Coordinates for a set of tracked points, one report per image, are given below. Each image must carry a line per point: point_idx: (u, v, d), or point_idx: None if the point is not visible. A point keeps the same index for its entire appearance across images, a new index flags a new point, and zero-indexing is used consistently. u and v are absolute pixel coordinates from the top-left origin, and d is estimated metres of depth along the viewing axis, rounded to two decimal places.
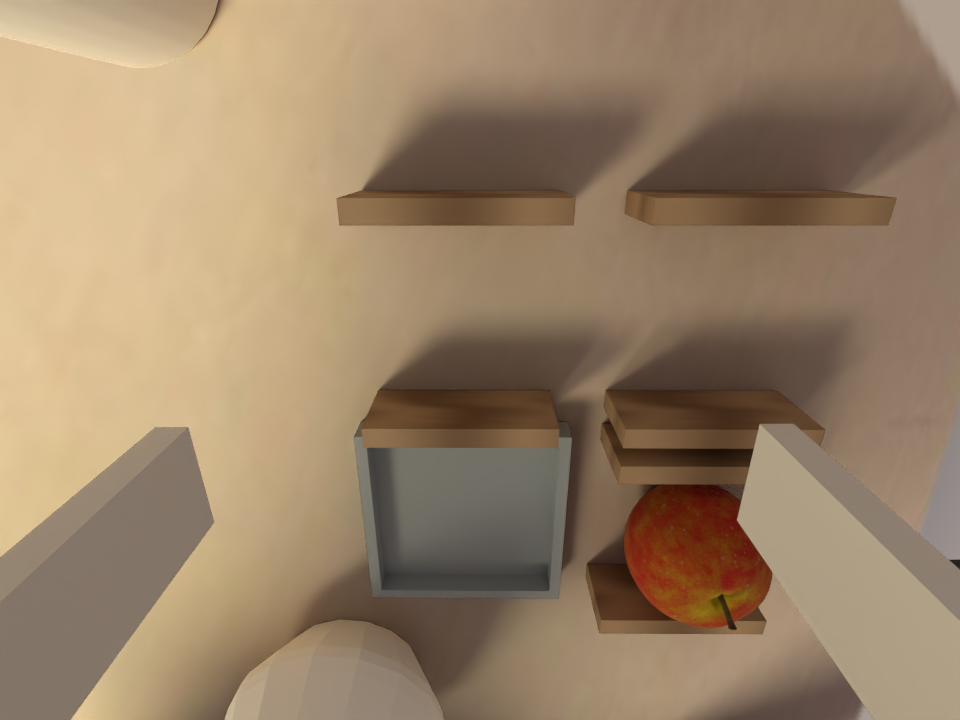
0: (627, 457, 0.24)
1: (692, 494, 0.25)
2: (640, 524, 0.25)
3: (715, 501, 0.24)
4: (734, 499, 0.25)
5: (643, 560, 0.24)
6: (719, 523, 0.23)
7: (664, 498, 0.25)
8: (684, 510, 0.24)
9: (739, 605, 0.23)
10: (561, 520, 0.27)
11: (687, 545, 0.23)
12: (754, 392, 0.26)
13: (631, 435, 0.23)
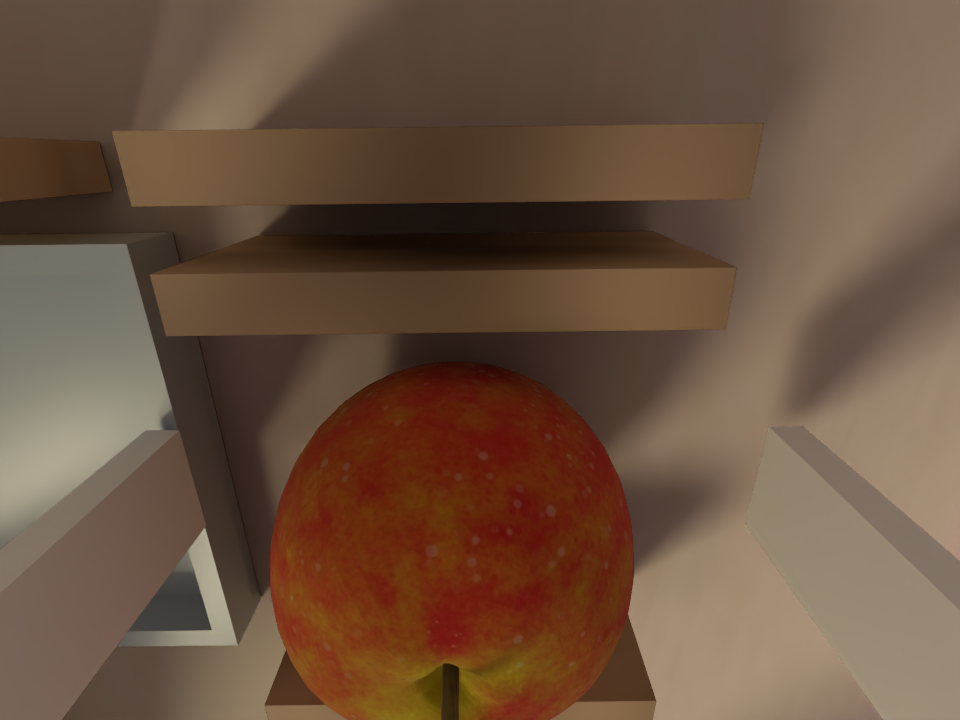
0: (207, 264, 0.08)
1: (418, 378, 0.09)
2: (294, 465, 0.09)
3: (467, 390, 0.08)
4: (537, 392, 0.09)
5: (270, 561, 0.09)
6: (449, 442, 0.07)
7: (357, 395, 0.09)
8: (372, 414, 0.08)
9: (505, 701, 0.07)
10: None
11: (338, 512, 0.07)
12: None
13: (140, 154, 0.07)
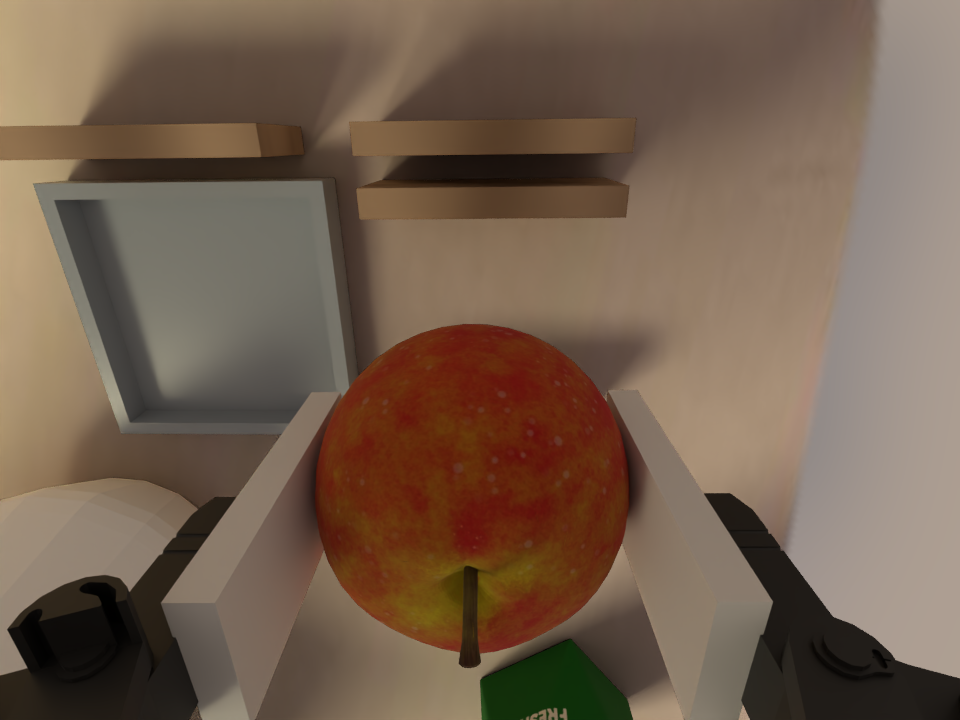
0: (376, 186, 0.17)
1: (445, 334, 0.10)
2: (335, 409, 0.11)
3: (488, 343, 0.10)
4: (548, 349, 0.10)
5: (315, 487, 0.10)
6: (473, 383, 0.09)
7: (390, 350, 0.11)
8: (406, 361, 0.10)
9: (515, 598, 0.09)
10: (334, 315, 0.21)
11: (379, 438, 0.09)
12: None
13: (360, 132, 0.16)
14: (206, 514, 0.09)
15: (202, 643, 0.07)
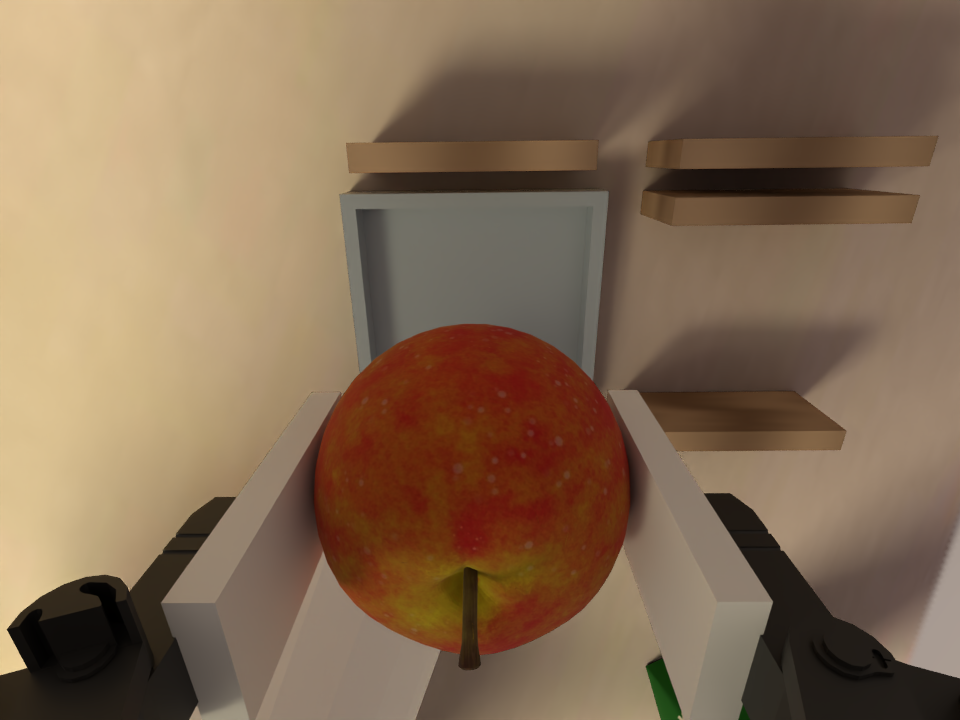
0: (681, 196, 0.19)
1: (444, 334, 0.10)
2: (334, 409, 0.11)
3: (488, 343, 0.10)
4: (548, 349, 0.10)
5: (314, 487, 0.10)
6: (473, 383, 0.09)
7: (390, 349, 0.11)
8: (406, 361, 0.10)
9: (516, 600, 0.09)
10: (593, 314, 0.23)
11: (379, 437, 0.09)
12: None
13: (691, 148, 0.18)
14: (207, 515, 0.09)
15: (203, 644, 0.07)
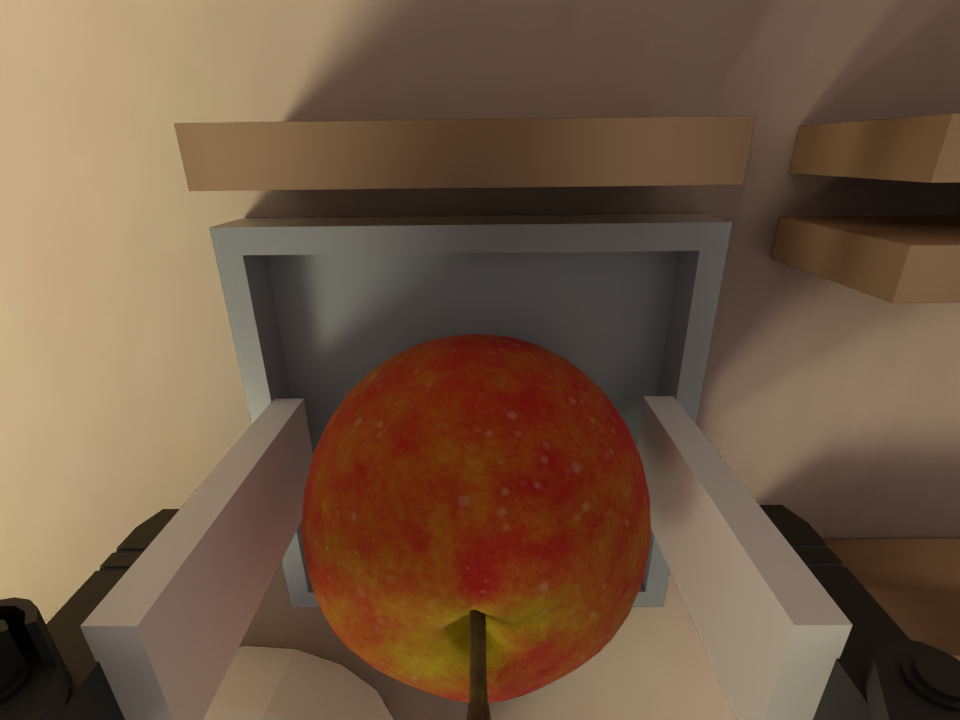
0: (905, 238, 0.09)
1: (446, 346, 0.09)
2: None
3: (494, 356, 0.09)
4: (560, 362, 0.10)
5: (302, 517, 0.09)
6: (479, 402, 0.08)
7: (386, 363, 0.10)
8: (403, 377, 0.09)
9: (529, 647, 0.08)
10: None
11: (374, 465, 0.08)
12: None
13: None
14: (150, 528, 0.09)
15: (126, 668, 0.07)
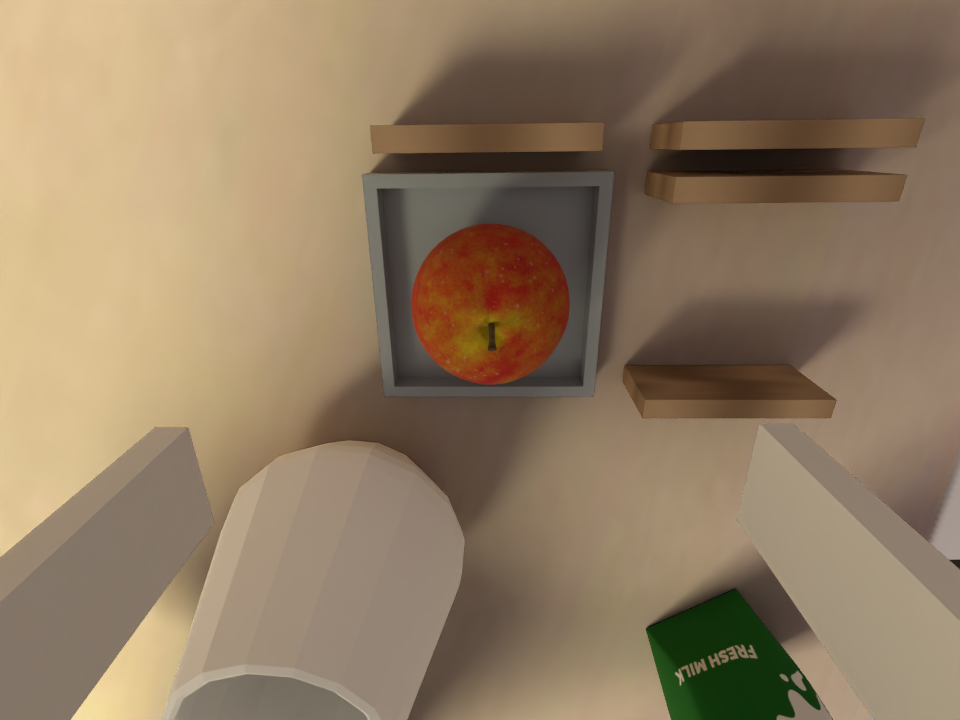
0: (682, 175, 0.20)
1: (477, 225, 0.21)
2: None
3: (499, 227, 0.20)
4: (528, 233, 0.21)
5: (414, 298, 0.21)
6: (492, 239, 0.19)
7: (449, 235, 0.21)
8: (459, 234, 0.20)
9: (511, 335, 0.19)
10: (598, 289, 0.24)
11: (450, 262, 0.19)
12: None
13: (691, 130, 0.19)
14: None
15: None
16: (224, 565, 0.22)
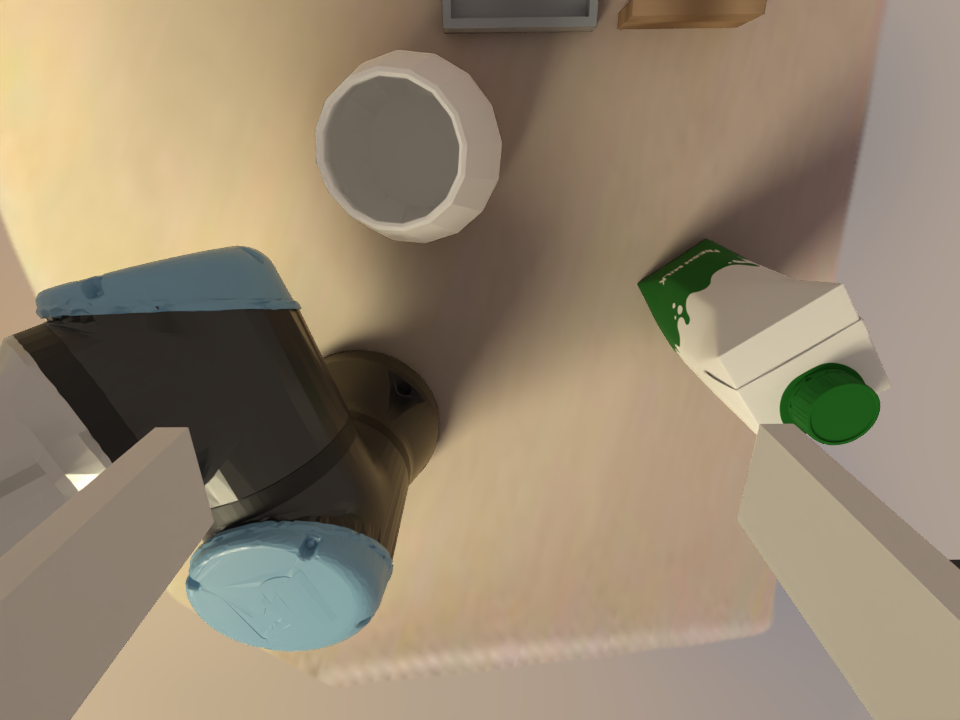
0: None
1: None
2: None
3: None
4: None
5: None
6: None
7: None
8: None
9: None
10: None
11: None
12: None
13: None
14: None
15: None
16: None
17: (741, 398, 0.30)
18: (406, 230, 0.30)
